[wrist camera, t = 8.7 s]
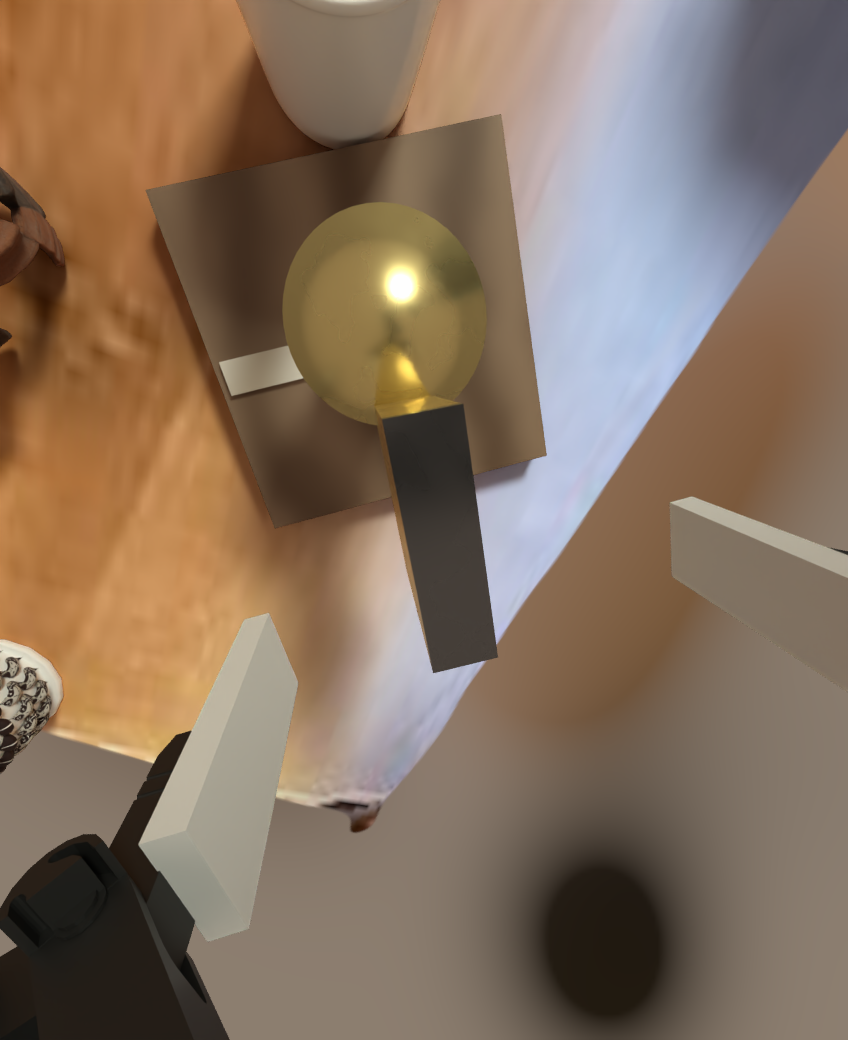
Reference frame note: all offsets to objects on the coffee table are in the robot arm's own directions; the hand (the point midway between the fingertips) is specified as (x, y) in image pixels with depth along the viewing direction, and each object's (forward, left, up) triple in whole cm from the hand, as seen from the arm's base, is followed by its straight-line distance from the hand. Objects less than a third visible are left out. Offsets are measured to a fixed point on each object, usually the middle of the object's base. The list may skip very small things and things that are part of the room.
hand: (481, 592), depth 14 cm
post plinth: (0, -9, -19) cm, 21 cm away
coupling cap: (0, -5, -9) cm, 10 cm away
